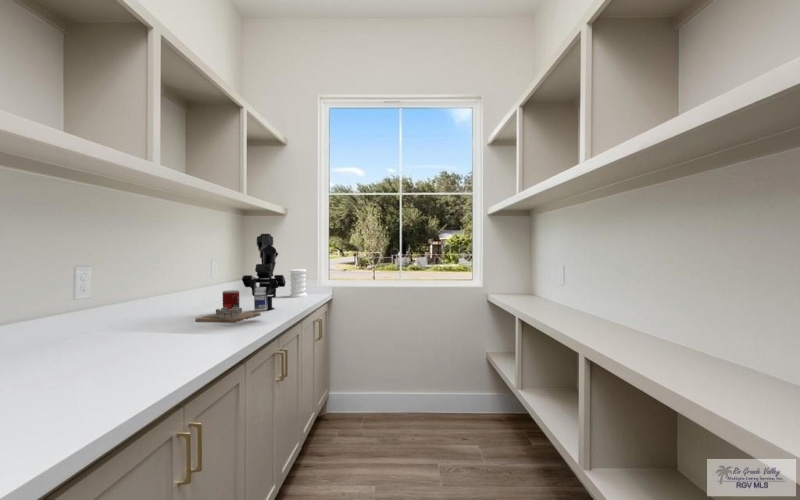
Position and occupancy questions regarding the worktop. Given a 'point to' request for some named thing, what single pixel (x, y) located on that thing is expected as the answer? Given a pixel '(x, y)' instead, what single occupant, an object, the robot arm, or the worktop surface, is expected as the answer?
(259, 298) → the pill bottle
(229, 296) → the canned food
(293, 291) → the decorative container
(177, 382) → the worktop surface
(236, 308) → the nut base
